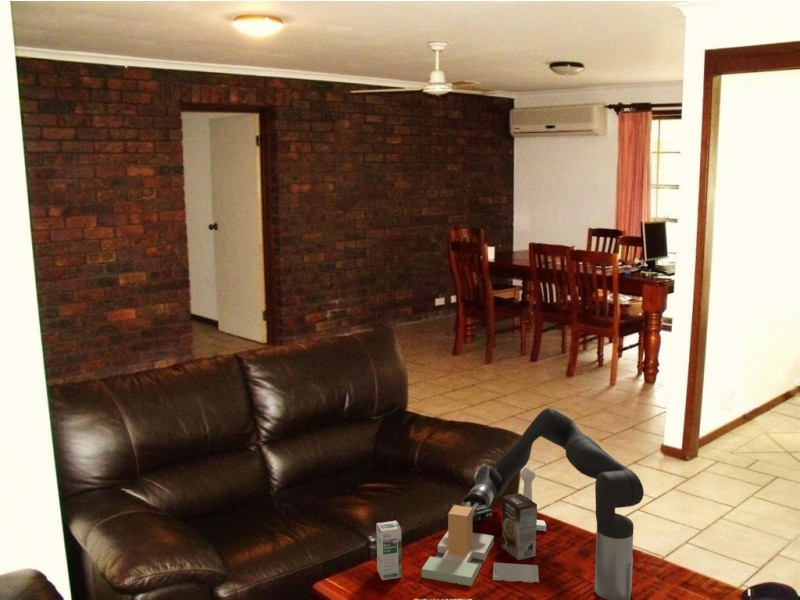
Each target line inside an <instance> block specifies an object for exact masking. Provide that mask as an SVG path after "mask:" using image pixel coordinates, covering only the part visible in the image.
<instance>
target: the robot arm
mask: <svg viewBox="0 0 800 600" xmlns="http://www.w3.org/2000/svg"><path fill="white" fill-rule="evenodd" d="M540 437H541V438H543V439H545V440H547V441H549V442H551V443H553V444H555V445H556V446H559V447H560V448H562V449H563V450H565V456H566V458H567V460H568V462H569V463H570V465H572V467H574V468H575V469H576V470H577V472H579V473H580V474H582V475H584V476H586V477H589V478H591V479H595V486H594V487H595V490H594V491H595V518H596V520H595V521H596V540H595V542H596V543H595V567H594V569H595V570H594V592H595V593H596V595H597V596H599V597H600V598H602V599H605V600H631V596H632V587H633V564H634V563H633V562H634V558H633V552H634V551H633V550H634V549H633V548H634V530H635V529H634V528H635V527H634V522H633V520H632V519H630V518H629V517H627V516H625V515H623V514H620V513H616V509H618V508H629V507H634V506H637V505H638V504H640V503H641V502H642V500H643V498H644V493H645V491H644V488H643V487H644V486H643V484H642V482H641V480H640V478H639V476H638V475H637V474H636V473H635V472H634V471H633V470H632V469H630V468H628V467H627V466H625V465H624V464H622V463H620V461H617V460H616V459H615V458H614V457H612V455H610V454H609V453H608V452H606V451H605V450H604V449H603V448H602V447H601V446H600V445H599V444H597V443H596V442H595V441H594V440H593V439H592V438H591V437H589V436H588V435H586V434H584V433H583V432H582V431H581V430H580V428H578V425H576V423H575V422H574V421H573V420H572V419H571V418H569V417H568V416H567V415H565V414H563V413H561V412H560V411H558V410H555V409H554V408H551V407H548V408H544V409H543V410H542V411H541V412H539V413H538V415H536V417H535V418H534V419H533V421H532V422H531V423H530V424H529V426H528V427H527V428H526V430H524V432H523V433H522V435H521V436H520V438H518V440H517V441H516V442H515V443H514V445H513V446H512V447H511V448H509V450H508V451H507V452H506V453H505V454H503V455H502V456H501V457H500V458H499V459H498V460H497V462H496V464H495V467H496V469H495V468H494V467H493V466H491V465H487V464H486V465H483V466H481V468H479V470H477V473H476V475H475V477H474V478H475V479H474V486H473V487H472V488H471V489H470V491H469V492H468V493H467V495H466V496H465V498H464V500H463V502H461V503H459V505H458V504H456V503H452V504H451V509H452V508H453V506H454V505H457V506H464V507H471V508H473V521H474V522H475V523H478V522H482V521H485V520H490V519H492V518H493V512H492V508H489V507H491V505H492V502H493V500H494V498H496V497H497V498H498V497H500V496H501V495H503V494H504V492H505V490H506V489H507V487H508V485H509V483H510V482H511V480H512V479H513V478H514V476H516V475H517V474H518V473H519V472H521V471H522V470H523V469H524V468H525V466H526V465H527V464H528V463H529V461H530V457H531V453H532V452H531V451H532V446H533V444H534V442H535V441H536V440H537V439H539V438H540Z"/></svg>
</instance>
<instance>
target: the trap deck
mask: <svg viewBox="0 0 800 600" xmlns="http://www.w3.org/2000/svg"><path fill="white" fill-rule="evenodd" d="M494 541H495V535H491V534H485V533H480V532H479V533H478V532H472V548H471V550H470V552H469V553H468V555H467V556H463V555H457V554H451V553H448V530H447V532H445V534H444V536H443V537H442V539H441V540H440V541H439V543H438V544H437V553H436V554H435V556H429V557H428V559H427V561H426V562H425V564H424V565H423V567H422V568H421V578H424V579H429V580H435V581H440V582H445V583H446V581H447V583H452V584H456V583H457V584H458V585H463V586H468V587H472V586H473V584H474V581H475V579H476V578H477V576H478V574H479V572H480V571H479V570H481V569H482V567H483V565H484V563H485V561H486V559H487V557H488V556H487V555H489V554H488V553H490V552H491V550H492V548H493V547H494V545H495V542H494ZM490 549H491V550H490ZM489 551H490V552H489ZM482 564H483V565H482ZM480 568H481V569H480Z"/></svg>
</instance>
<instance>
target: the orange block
mask: <svg viewBox="0 0 800 600" xmlns="http://www.w3.org/2000/svg"><path fill="white" fill-rule="evenodd" d="M457 505H458V504H456V505H454V506H453V508H452V507H451V509H450V510H449V512H448V513H447V514H448V515H447V517H448V518H447V523H448V524H447V526H448V527H447V529H448V530H447V531H448V553H451V554H457V555H463V556H467V555H468V553H469V552H470V550H471V548H472V533H473V527H474V526H473V524H474V523H473V522H474V520H473V508H471V507H464V506H460V505H458V506H457Z"/></svg>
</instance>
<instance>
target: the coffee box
mask: <svg viewBox="0 0 800 600" xmlns="http://www.w3.org/2000/svg"><path fill="white" fill-rule="evenodd" d="M501 515H502V517H501V518H502V519H501V520H502V522H501V523H502V524H501V525H502V527H501V529H502V531H501V547H502V549H504V550H505V551H506V552H507V553H509V554H510V555H511V556H512V557H513V558H515V559H516V560H518V561H521V560H525V559H529V558H533V557H536V552H537V550H536V548H537V530H536V524H537V520H538V504H537V503H536V502H534V501H533V500H532V501H531V500H530V499H528V498H527V497H525V496H524V495H523V493H520V492H519V493H513V494H507V495H504V496H503V495H502V513H501Z"/></svg>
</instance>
